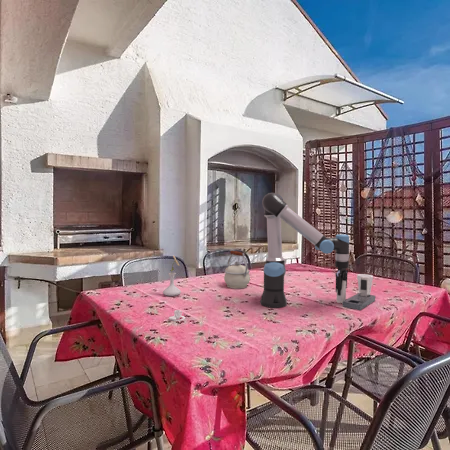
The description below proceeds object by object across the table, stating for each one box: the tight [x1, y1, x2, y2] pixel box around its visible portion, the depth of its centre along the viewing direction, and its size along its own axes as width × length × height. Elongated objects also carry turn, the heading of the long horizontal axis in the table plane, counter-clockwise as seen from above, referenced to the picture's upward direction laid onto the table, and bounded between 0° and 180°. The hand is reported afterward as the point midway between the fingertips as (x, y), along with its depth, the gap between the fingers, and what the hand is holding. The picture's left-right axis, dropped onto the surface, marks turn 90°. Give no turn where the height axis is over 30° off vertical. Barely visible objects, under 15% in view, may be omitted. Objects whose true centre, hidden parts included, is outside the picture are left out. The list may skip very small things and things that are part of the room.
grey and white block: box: [342, 277, 376, 311], centre depth 197 cm, size 10×26×14 cm, turn 139°
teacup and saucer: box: [168, 309, 186, 322], centre depth 168 cm, size 9×8×4 cm
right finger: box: [335, 280, 347, 305], centre depth 199 cm, size 5×4×13 cm
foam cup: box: [356, 273, 374, 295], centre depth 215 cm, size 10×9×13 cm
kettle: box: [223, 250, 251, 290], centre depth 239 cm, size 25×18×25 cm
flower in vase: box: [162, 254, 182, 297], centre depth 214 cm, size 13×11×25 cm
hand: (341, 299), depth 199 cm, fingers closed on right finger, 4 cm apart
